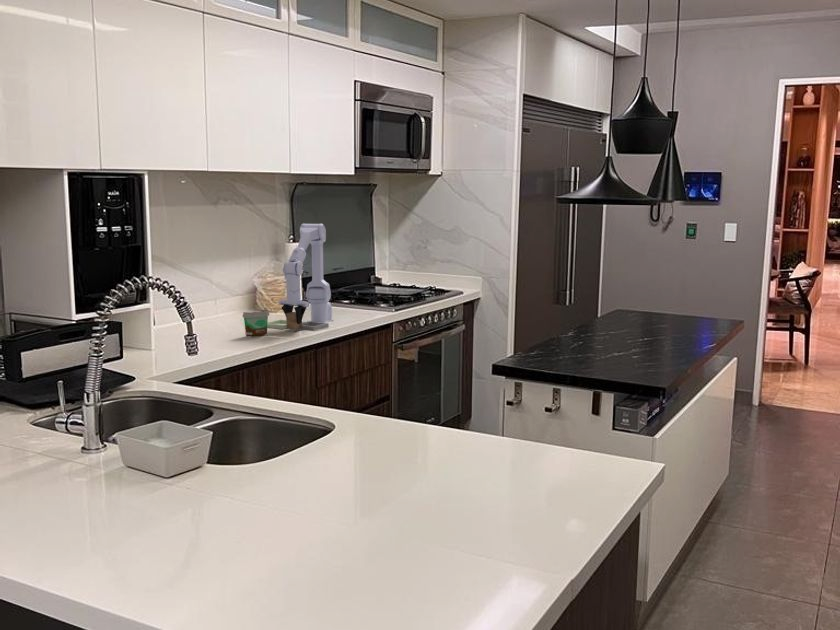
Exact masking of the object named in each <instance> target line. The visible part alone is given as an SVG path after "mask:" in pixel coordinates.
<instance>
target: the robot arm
mask: <svg viewBox="0 0 840 630" xmlns="http://www.w3.org/2000/svg"><path fill="white" fill-rule="evenodd" d="M326 229H327V228H326V226H325V225H324V224H323V223H302V224H301V225H300V227H299V235H300V238H299V240H298V244H297V247H295V248H293V250H292V252H291V255H290V257H289V259H288V261H286V262H285V263H284V264H283V268H282V273H283V274H284V280H285V286H286V288H285V289H286V292H285V293H286V299H279V300H278V305H279V306H281V305H282V306H281V307H280V308H281V310H282V311H283V314H284V315H285V317H286V313H289V312H296V318H297V324H300V323H303V318H304V315H305V313H306V310H307V308H309V307H310V320H307V321H306V322H321V323H328V322H334V319H333V309H332V304H331V302H329V301H330V300H331V296H332V292H331V286H330V283H329V282H327V281H326V280H325V279H324V243H325V242H326V241H327V240H326V239H327V230H326ZM309 245H310V246H311V277H312V278H311V279H312V280H311V281H309V283H307V285H306V290H305V291H306V292H305V297H306V300H307V301H305V300H301V296H302V295H301V276H302V273H303V268H304V264H303V263H304V261H305V259H306V257H307V252H306V251H307V249H308V247H309ZM293 309H294V310H293Z"/></svg>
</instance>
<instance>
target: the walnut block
mask: <svg viewBox="0 0 840 630" xmlns="http://www.w3.org/2000/svg"><path fill="white" fill-rule="evenodd" d="M285 318H286V319H285V320H286V322H287V329H286V330H289V329H294V330H296V329H300V328H302V323H303V322H302V323H300V324H297V318H296V312H295V311H292V312H289V313H286V316H285Z"/></svg>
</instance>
